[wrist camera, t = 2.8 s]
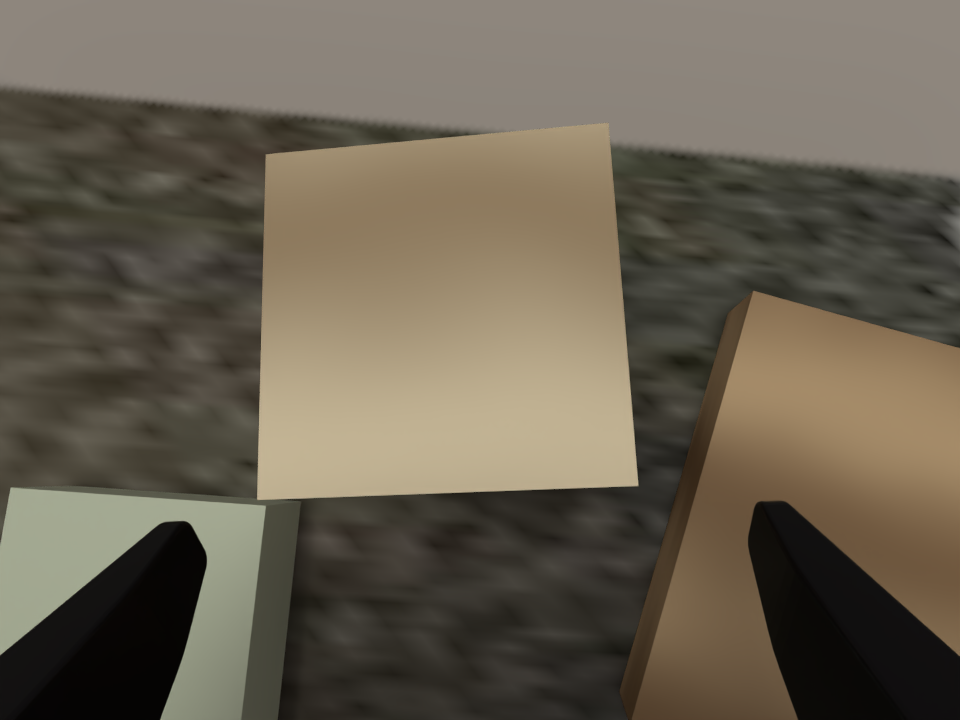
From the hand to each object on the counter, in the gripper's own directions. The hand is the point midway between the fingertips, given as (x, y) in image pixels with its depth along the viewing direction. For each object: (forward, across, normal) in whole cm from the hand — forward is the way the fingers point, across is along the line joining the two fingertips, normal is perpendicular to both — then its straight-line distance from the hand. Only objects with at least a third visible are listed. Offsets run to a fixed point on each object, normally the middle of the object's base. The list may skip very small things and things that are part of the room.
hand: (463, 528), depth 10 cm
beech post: (+9, 0, +5) cm, 10 cm away
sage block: (+5, +11, +10) cm, 16 cm away
